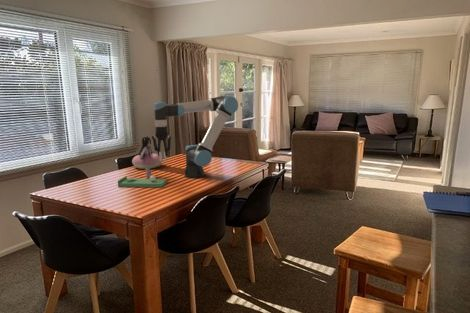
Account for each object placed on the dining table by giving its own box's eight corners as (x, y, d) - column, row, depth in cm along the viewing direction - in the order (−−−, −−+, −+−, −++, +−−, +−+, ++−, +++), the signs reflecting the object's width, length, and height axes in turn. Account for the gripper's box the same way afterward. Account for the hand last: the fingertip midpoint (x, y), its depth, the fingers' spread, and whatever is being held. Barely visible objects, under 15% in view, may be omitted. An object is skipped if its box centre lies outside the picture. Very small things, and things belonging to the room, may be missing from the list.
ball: (156, 180, 225) (156, 174, 224) (154, 182, 221) (154, 176, 221) (151, 180, 226) (150, 174, 225) (149, 182, 222) (148, 176, 221)
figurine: (147, 180, 234) (145, 139, 228) (134, 180, 236) (131, 138, 230) (160, 173, 255) (158, 134, 249) (148, 172, 257) (146, 134, 251)
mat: (167, 182, 229) (166, 176, 228) (161, 187, 217) (161, 181, 217) (125, 181, 232) (125, 176, 231) (118, 186, 220) (117, 180, 219)
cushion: (165, 163, 291) (164, 152, 289) (160, 170, 266) (159, 157, 264) (136, 163, 290) (136, 152, 288) (128, 170, 265) (127, 158, 263)
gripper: (174, 125, 218) (176, 160, 223) (151, 125, 220) (153, 159, 224) (171, 126, 211) (173, 162, 216) (147, 126, 212) (149, 162, 217)
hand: (163, 161), depth 220 cm, fingers open, 3 cm apart
